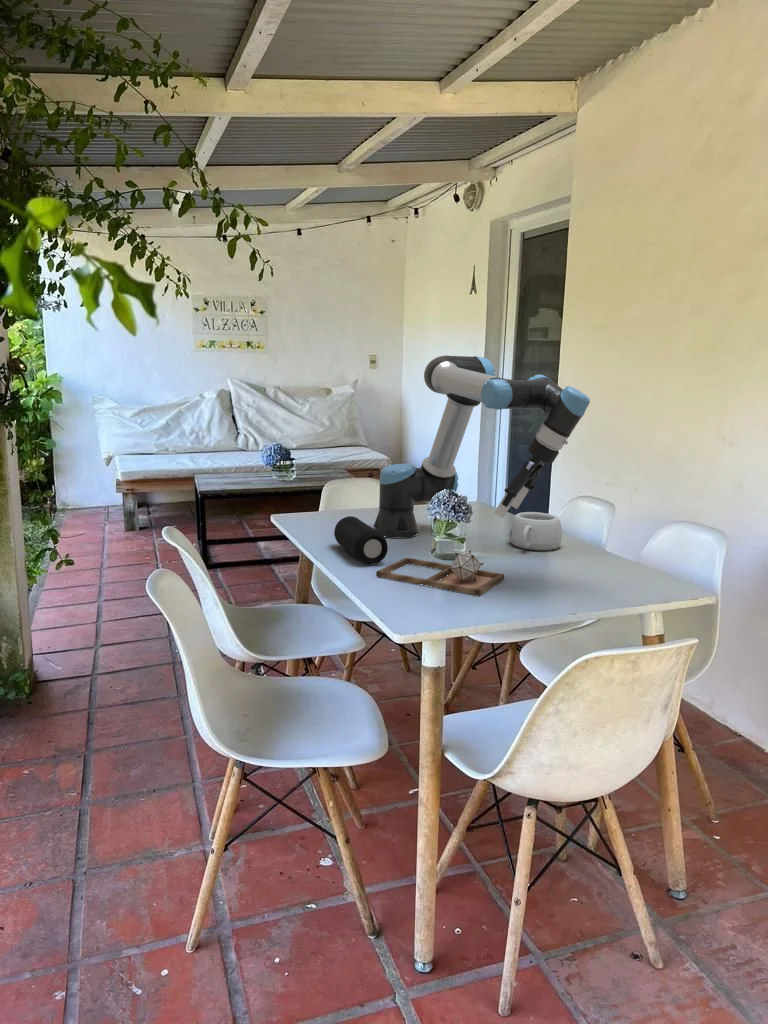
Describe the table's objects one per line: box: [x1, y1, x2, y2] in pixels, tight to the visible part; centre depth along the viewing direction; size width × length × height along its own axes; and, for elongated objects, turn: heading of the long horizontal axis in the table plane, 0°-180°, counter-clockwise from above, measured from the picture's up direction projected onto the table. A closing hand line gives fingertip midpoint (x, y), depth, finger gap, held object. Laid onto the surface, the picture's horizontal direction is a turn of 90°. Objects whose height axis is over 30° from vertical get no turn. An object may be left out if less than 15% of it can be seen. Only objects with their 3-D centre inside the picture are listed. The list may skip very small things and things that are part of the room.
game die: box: [448, 549, 485, 583], centre depth 201 cm, size 9×8×10 cm
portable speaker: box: [333, 515, 389, 565], centre depth 225 cm, size 26×10×10 cm, turn 20°
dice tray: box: [375, 557, 505, 597], centre depth 205 cm, size 30×18×2 cm, turn 61°
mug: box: [509, 511, 563, 551], centre depth 242 cm, size 21×17×10 cm
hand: (506, 510), depth 203 cm, fingers open, 13 cm apart
